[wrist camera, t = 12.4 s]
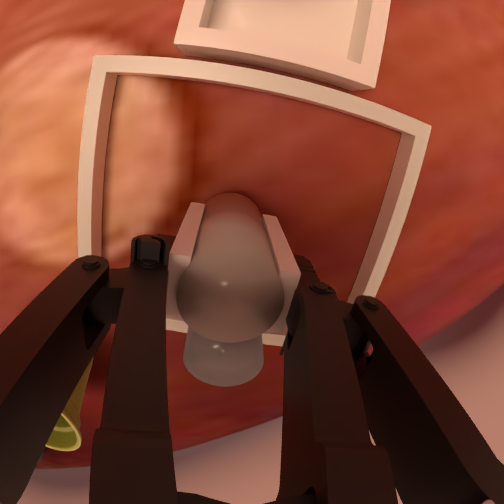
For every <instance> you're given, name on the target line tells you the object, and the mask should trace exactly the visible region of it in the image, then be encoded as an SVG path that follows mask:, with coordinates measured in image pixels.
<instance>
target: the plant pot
mask: <svg viewBox="0 0 504 504" xmlns="http://www.w3.org/2000/svg"><path fill="white" fill-rule="evenodd" d="M93 359H94V356H93V358H92V359H91V361H90V363H89V365H88V366H87V368H86V370H85V372H84V373H83V375H82V377H81V379H80V380H79V382H78V384H77V386H76V388H75V389H74V391H73V393H72V395H71V397H70V399H69V400H68V402H67V404H66V406H65V408H64V410H63V412H62V414H61V416H60V418H59V419H58V421H57V423H56V425H55V427H54V429H53V431H52V433H51V435H50V437H49V439H48V441H47V443H46V445H45V446H46V447H48V448H51V449H55V450H61V451H73V450H76V449H78V448H79V447H80V445H81V441H82V437H81V433H80V431H79V429H80V417H79V416H80V411H81V406H82V402H83V397H84V393H85V389H86V385H87V381H88V378H89V374H90V371H91V367H92V364H93Z"/></svg>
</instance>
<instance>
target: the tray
mask: <svg viewBox="0 0 504 504" xmlns="http://www.w3.org/2000/svg"><path fill="white" fill-rule="evenodd" d="M117 75H134V76H150V77H162V78H173V79H183V80H191V81H199V82H206V83H213V84H220V85H226V86H232V87H238V88H243V89H249V90H254V91H259V92H264V93H269V94H273V95H278V96H282V97H286V98H291V99H295V100H299V101H303V102H307V103H310V104H314V105H318V106H321V107H325V108H329V109H332V110H335V111H339V112H342V113H345V114H348V115H352V116H355V117H358V118H361V119H364V120H367V121H370V122H373V123H376V124H378V125H381V126H384V127H387V128H390V129H392V130H395V131H398V132H400V133H402V134H401V138H400V142H399V146H398V150H397V154H396V158H395V161H394V165H393V168H392V172H391V176H390V179H389V182H388V186H387V189H386V193H385V196H384V199H383V202H382V206H381V209H380V212H379V215H378V218H377V221H376V224H375V227H374V230H373V233H372V236H371V239H370V242H369V245H368V247H367V250H366V253H365V256H364V259H363V261H362V264H361V267H360V269H359V272H358V275H357V277H356V280H355V283H354V285H353V288H352V290H351V293H350V295H349V298H348V300H347V303H351V304H354V301H355V299H356V297H357V296H359V295H366V296H372V297H375V296H376V294H377V291H378V289H379V287H380V284H381V282H382V279H383V277H384V275H385V272H386V270H387V267H388V265H389V262H390V259H391V257H392V254H393V252H394V249H395V246H396V244H397V241H398V238H399V235H400V233H401V230H402V227H403V224H404V221H405V218H406V215H407V212H408V209H409V206H410V203H411V200H412V197H413V194H414V190H415V187H416V184H417V180H418V177H419V173H420V170H421V166H422V163H423V159H424V155H425V152H426V148H427V144H428V140H429V136H430V132H431V127H432V126H430V125H428V124H426V123H423V122H421V121H419V120H417V119H414V118H412V117H410V116H407V115H405V114H402V113H400V112H397V111H395V110H392V109H390V108H387V107H385V106H382V105H379V104H377V103H374V102H371V101H368V100H365V99H363V98H360V97H357V96H354V95H351V94H348V93H344V92H341V91H338V90H335V89H332V88H328V87H325V86H321V85H318V84H314V83H311V82H307V81H303V80H299V79H295V78H291V77H287V76H283V75H278V74H274V73H269V72H265V71H260V70H255V69H249V68H244V67H238V66H232V65H226V64H220V63H213V62H205V61H197V60H188V59H178V58H167V57H152V56H128V55H94V59H93V64H92V69H91V74H90V79H89V85H88V91H87V97H86V104H85V111H84V119H83V127H82V136H81V147H80V159H79V175H78V206H77V228H78V258H80V257H83V256H86V255H95V256H100V257H102V202H103V184H104V170H105V159H106V149H107V140H108V132H109V124H110V117H111V110H112V103H113V97H114V91H115V86H116V80H117ZM166 330H172V331H177V332H183V333H187V331H188V325H187V324H186V323H185V322H184V321H181V320H175V319H169V318H166ZM287 331H288V328H287V324H285V327H284V330H283V333H282V334H280V333H270V332H264V333H263V334H262V342H263V344H266V345H275V346H283V343H284V340H285V337H286V334H287Z"/></svg>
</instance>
